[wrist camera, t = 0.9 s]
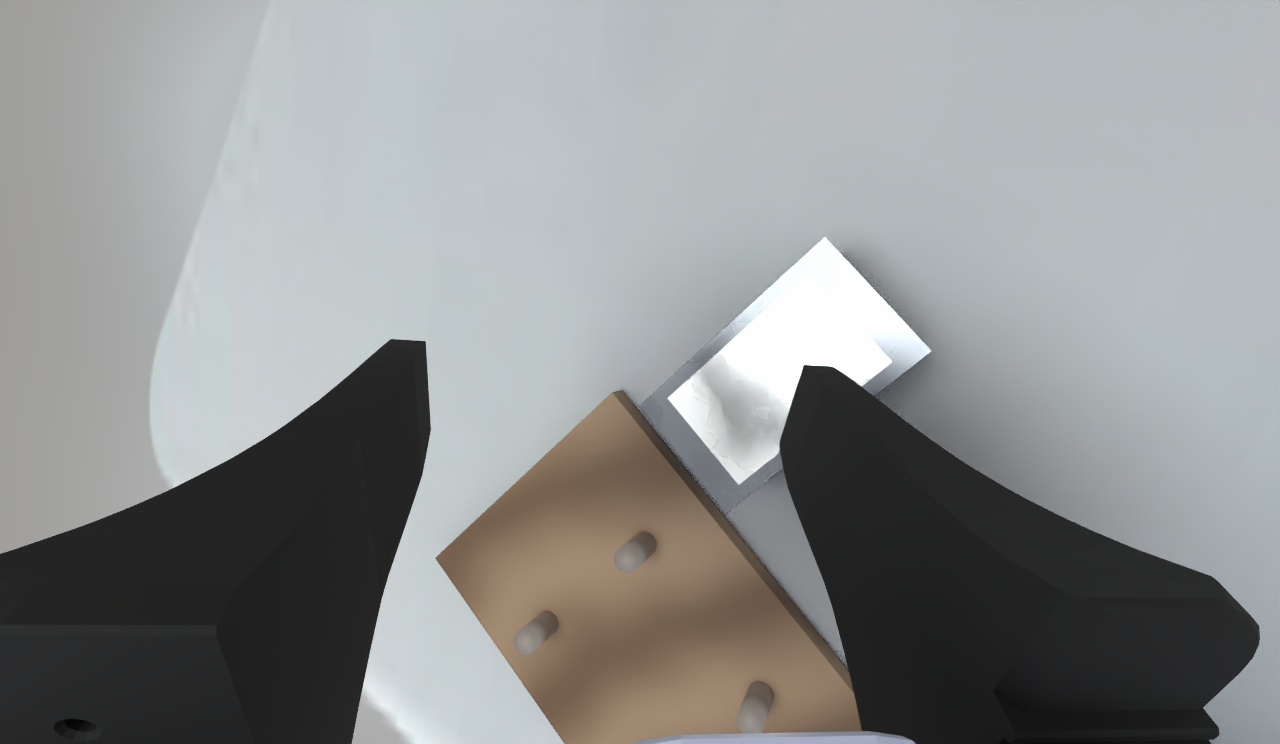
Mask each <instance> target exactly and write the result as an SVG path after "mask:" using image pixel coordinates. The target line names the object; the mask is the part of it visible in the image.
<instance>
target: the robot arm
mask: <svg viewBox="0 0 1280 744" xmlns="http://www.w3.org/2000/svg"><path fill="white" fill-rule="evenodd" d="M430 431H431V426H430V409H429V392H428V375H427V358H426V341H412V340H396V339H391V340H389V341H388V342H387V343H386V344H385V345H383V346H382V347H381V348H380V349H378V350H377V351H376V352H375V353H374V354H373V355H372V356H370V357H369V358H368V359H367V360H366V361H365V362H364V363H363V364H361V365H360V366H359V367H358V368H357V369H356V370H355V371H353V372H352V373H351V374H350V375H349V376H348V377H346V378H345V379H344V380H343V381H342V382H340V383H339V384H338V385H337V386H336V387H334V388H333V389H332V390H331V391H330V392H328V393H327V394H326V395H325V396H324V397H322V398H321V399H320V400H319V401H317V402H316V403H314V404H313V405H312V406H310V407H309V408H308V409H306V410H305V411H304V412H302V413H301V414H300V415H298V416H297V417H296V418H294V419H293V420H292V421H290V422H289V423H287V424H286V425H285V426H283V427H282V428H280V429H279V430H277V431H276V432H274V433H273V434H271V435H270V436H268V437H266V438H265V439H263V440H262V441H260V442H258V443H257V444H255V445H253V446H252V447H250V448H248V449H247V450H245V451H243V452H242V453H240V454H238V455H237V456H235V457H233V458H231V459H230V460H228V461H226V462H224V463H222V464H220V465H218V466H216V467H214V468H212V469H210V470H208V471H206V472H204V473H202V474H200V475H198V476H197V477H195V478H193V479H191V480H189V481H187V482H185V483H183V484H181V485H179V486H177V487H175V488H173V489H171V490H169V491H166V492H164V493H162V494H160V495H157V496H155V497H153V498H151V499H148V500H146V501H144V502H141V503H139V504H137V505H135V506H132V507H130V508H127V509H125V510H122V511H120V512H117V513H115V514H112V515H110V516H107V517H105V518H102V519H100V520H97V521H95V522H92V523H89V524H87V525H84V526H82V527H79V528H76V529H73V530H70V531H67V532H64V533H62V534H58V535H55V536H52V537H50V538H47V539H44V540H41V541H38V542H35V543H32V544H29V545H27V546H23V547H20V548H18V549H15V550H12V551H8V552H6V553H2V554H0V744H352V738H353V733H354V727H355V722H356V717H357V712H358V707H359V702H360V697H361V692H362V687H363V682H364V678H365V673H366V668H367V663H368V658H369V653H370V649H371V644H372V640H373V635H374V631H375V626H376V621H377V617H378V612H379V608H380V603H381V599H382V596H383V592H384V589H385V585H386V582H387V578H388V575H389V572H390V569H391V566H392V563H393V560H394V557H395V554H396V551H397V549H398V546H399V543H400V540H401V537H402V534H403V531H404V528H405V525H406V522H407V519H408V516H409V513H410V510H411V507H412V504H413V501H414V498H415V495H416V492H417V489H418V486H419V483H420V480H421V477H422V473H423V468H424V463H425V458H426V453H427V447H428V442H429V436H430ZM779 449H780V454H781V459H782V464H783V469H784V473H785V477H786V481H787V485H788V489H789V492H790V494H791V497H792V500H793V503H794V505H795V508H796V511H797V513H798V516H799V519H800V521H801V524H802V526H803V529H804V532H805V534H806V537H807V539H808V542H809V544H810V547H811V549H812V552H813V555H814V557H815V560H816V562H817V565H818V567H819V570H820V573H821V575H822V578H823V580H824V583H825V586H826V589H827V592H828V595H829V598H830V601H831V604H832V607H833V611H834V615H835V619H836V622H837V626H838V630H839V634H840V638H841V641H842V645H843V649H844V653H845V657H846V661H847V666H848V670H849V674H850V679H851V683H852V687H853V691H854V696H855V700H856V705H857V710H858V715H859V719H860V724H861V729H862V731H852V732H798V733H743V734H688V735H673V736H667V737H660V738H654V739H648V740H641V741H636V742H634V743H632V744H1211V743H1210V741H1209V740H1211V739H1215V738H1216V737H1217V736H1218V735H1219V728H1218V726H1217V725H1216V724H1215V723H1214V721H1213V720H1212V719H1211V718H1210V716H1209V715H1208V714H1207V713H1206V711H1205V710H1204V709H1203V707H1204V706H1205V705H1206V704H1207V703H1208V702H1209V701H1210V700H1211V699H1212V698H1214V697H1215V696H1216V695H1217V694H1218V693H1219V692H1220V691H1221V690H1222V689H1223V688H1224V687H1225V686H1226V685H1227V684H1228V683H1229V682H1230V681H1232V680H1233V679H1234V678H1235V677H1236V676H1237V675H1238V674H1239V673H1240V672H1241V671H1242V670H1243V669H1244V667H1245V666H1246V665H1247V664H1248V663H1249V662H1250V660H1251V659H1252V658H1253V656H1254V654H1255V652H1256V649H1257V647H1258V645H1259V640H1260V634H1259V625H1258V624H1257V623H1256V622H1255V620H1254V619H1253V618H1252V617H1251V615H1250V614H1249V613H1248V612H1247V611H1246V610H1245V609H1244V608H1243V607H1242V606H1241V605H1240V604H1239V603H1238V602H1237V601H1236V600H1235V599H1234V598H1233V597H1232V596H1231V595H1230V594H1229V593H1228V592H1227V590H1226V589H1225V588H1224V587H1223V586H1222V585H1221V584H1220V583H1219V582H1218V581H1217V580H1216V579H1214V578H1213V577H1212V576H1209V575H1206V574H1203V573H1201V572H1198V571H1195V570H1192V569H1189V568H1187V567H1184V566H1181V565H1178V564H1175V563H1173V562H1170V561H1167V560H1164V559H1162V558H1159V557H1156V556H1153V555H1150V554H1148V553H1145V552H1142V551H1139V550H1137V549H1134V548H1132V547H1129V546H1127V545H1125V544H1122V543H1120V542H1117V541H1115V540H1113V539H1110V538H1108V537H1106V536H1103V535H1101V534H1098V533H1096V532H1094V531H1091V530H1089V529H1087V528H1085V527H1082V526H1080V525H1078V524H1076V523H1074V522H1072V521H1069V520H1067V519H1065V518H1063V517H1061V516H1059V515H1057V514H1055V513H1053V512H1051V511H1049V510H1047V509H1045V508H1043V507H1041V506H1039V505H1037V504H1035V503H1033V502H1031V501H1029V500H1027V499H1025V498H1023V497H1022V496H1020V495H1018V494H1016V493H1014V492H1012V491H1011V490H1009V489H1007V488H1005V487H1003V486H1002V485H1000V484H998V483H997V482H995V481H993V480H992V479H990V478H988V477H987V476H985V475H983V474H982V473H980V472H978V471H977V470H975V469H973V468H972V467H970V466H969V465H967V464H965V463H964V462H962V461H961V460H959V459H958V458H956V457H955V456H953V455H952V454H950V453H949V452H948V451H946V450H945V449H943V448H942V447H940V446H939V445H937V444H936V443H935V442H933V441H932V440H930V439H929V438H928V437H926V436H925V435H923V434H922V433H921V432H919V431H918V430H917V429H915V428H914V427H913V426H911V425H910V424H909V423H907V422H906V421H905V420H903V419H902V418H901V417H900V416H898V415H897V414H896V413H894V412H893V411H892V410H891V409H889V408H888V407H887V406H885V405H884V404H883V403H882V402H880V401H879V400H878V399H877V398H875V397H874V396H873V395H871V394H870V393H869V392H868V391H866V390H865V389H864V388H863V387H861V386H860V385H859V384H857V383H856V382H855V381H853V380H852V379H851V378H849V377H848V376H847V375H845V374H844V373H842V372H841V371H840V370H838V369H836V368H835V367H833V366H819V365H803V368H802V371H801V374H800V378H799V381H798V384H797V387H796V390H795V394H794V397H793V400H792V403H791V407H790V410H789V413H788V416H787V419H786V423H785V426H784V429H783V432H782V436H781V439H780V442H779Z"/></svg>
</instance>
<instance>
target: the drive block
mask: <svg viewBox="0 0 1280 744" xmlns="http://www.w3.org/2000/svg"><path fill="white" fill-rule="evenodd" d="M930 352H931V350H930V348H929V347H928V346H927V345H926V344H925V343H924V342H923V341H922V340H921V339H920V338H919V336H918V335H917V334H916V333H915V332H914V331H913V330H912V329H911V328H910V327H909V326H908V325H907V324H906V323H905V321H904V320H903V319H902V318H901V317H900V316H899V315H898V314H897V313H896V312H895V311H894V310H893V309H892V308H891V306H890V305H889V304H888V303H887V302H886V301H885V300H884V299H883V298H882V297H881V296H880V295H879V294H878V293H877V292H876V290H875V289H874V288H873V287H872V286H871V285H870V284H869V283H868V282H867V281H866V280H865V279H864V278H863V277H862V275H861V274H860V273H859V272H858V271H857V270H856V269H855V268H854V267H853V266H852V265H851V264H850V263H849V262H848V260H847V259H846V258H845V257H844V256H843V255H842V254H841V253H840V252H839V251H838V250H837V249H836V248H835V247H834V246H833V245H832V244H831V243H830V241H829V240H828V239H827V238H826V237H824V238H823V239H822V240H821V241H820V242H819V243H818V244H816V245H815V246H814V247H813V248H812V249H811V250H810V251H809V252H808V253H807V254H805V255H804V256H803V257H802V258H801V259H800V260H799V261H798V262H797V263H796V264H795V265H793V266H792V267H791V268H790V269H789V270H788V271H787V272H786V273H785V274H784V275H782V276H781V277H780V278H779V279H778V280H777V281H776V282H775V283H774V284H773V285H771V286H770V287H769V288H768V289H767V290H766V291H765V292H764V293H763V294H762V295H761V296H759V297H758V298H757V299H756V300H755V301H754V302H753V303H752V304H751V305H750V306H748V307H747V308H746V309H745V310H744V311H743V312H742V313H741V314H740V315H739V316H738V317H736V318H735V319H734V320H733V321H732V322H731V323H730V324H729V325H728V326H727V327H725V328H724V329H723V330H722V331H721V332H720V333H719V334H718V335H717V336H716V337H714V338H713V339H712V340H711V341H710V342H709V343H708V344H707V345H706V346H705V347H704V348H702V349H701V350H700V351H699V352H698V353H697V354H696V355H695V356H694V357H693V358H691V359H690V360H689V361H688V362H687V363H686V364H685V365H684V366H683V367H682V368H680V369H679V370H678V371H677V372H676V373H675V374H674V375H673V376H672V377H671V378H670V379H668V380H667V381H666V382H665V383H664V384H663V385H662V386H661V387H660V388H659V389H657V390H656V391H655V392H654V393H653V394H652V395H651V396H650V397H649V398H648V399H647V400H645V401H644V402H643V403H642V404H641V405H640V406H639V407H640V408H641V410H642V411H643V412H644V413H645V415H646V416H647V417H648V418H649V420H650V421H651V422H652V423H653V425H654V426H655V427H656V428H657V429H658V431H659V432H660V433H661V434H662V436H663V437H664V438H665V439H666V441H667V442H668V443H669V444H670V446H671V447H672V448H673V449H674V450H675V452H676V453H677V454H678V455H679V457H680V458H681V459H682V460H683V462H684V463H685V464H686V465H687V466H688V468H689V469H690V470H691V471H692V473H693V474H694V475H695V476H696V478H697V479H698V480H699V481H700V483H701V484H702V485H703V486H704V487H705V489H706V490H707V491H708V492H709V494H710V495H711V496H712V497H713V499H714V500H715V501H716V502H717V504H718V505H719V506H720V507H721V508H722V510H723V511H724V512H725V513H727V512H728V511H730V510H731V509H732V508H733V507H735V506H736V505H737V504H739V503H740V502H741V501H742V500H744V499H745V498H746V497H747V496H749V495H750V494H751V493H752V492H754V491H755V490H756V489H757V488H759V487H760V486H761V485H763V484H764V483H765V482H766V481H768V480H769V479H770V478H771V477H773V476H774V475H775V474H776V473H778V472H779V471H780V470H782V469H783V464H782V459H781V454H780V449H779V442H780V439H781V436H782V432H783V429H784V426H785V423H786V419H787V416H788V413H789V410H790V407H791V403H792V400H793V397H794V394H795V390H796V387H797V384H798V381H799V378H800V374H801V371H802V368H803V365H819V366H833V367H835V368H836V369H838V370H840V371H841V372H842V373H844V374H845V375H847V376H848V377H849V378H851V379H852V380H853V381H855V382H856V383H857V384H859V385H860V386H861V387H863V388H864V389H865V390H866V391H868V392H869V393H870V394H871V395H873V396H875V395H877V394H878V393H879V392H880V391H882V390H883V389H884V388H885V387H887V386H888V385H889V384H890V383H892V382H893V381H894V380H895V379H897V378H898V377H899V376H901V375H902V374H903V373H904V372H906V371H907V370H908V369H909V368H911V367H912V366H913V365H914V364H916V363H917V362H918V361H920V360H921V359H922V358H923V357H925V356H926V355H927V354H928V353H930Z"/></svg>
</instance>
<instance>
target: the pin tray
mask: <svg viewBox="0 0 1280 744" xmlns="http://www.w3.org/2000/svg"><path fill="white" fill-rule="evenodd" d="M436 560H437V561H438V563H439V564H440V566H441V567H442V568H443V570H444V571H445V573H446V574H447V576H448V577H449V578H450V580H451V581H452V583H453V584H454V586H455V587H456V589H457V590H458V591H459V593H460V594H461V596H462V597H463V599H464V600H465V601H466V603H467V604H468V606H469V607H470V609H471V610H472V611H473V613H474V614H475V616H476V617H477V619H478V620H479V622H480V623H481V624H482V626H483V627H484V629H485V630H486V632H487V633H488V634H489V636H490V637H491V639H492V640H493V642H494V643H495V644H496V646H497V647H498V649H499V650H500V652H501V653H502V655H503V656H504V657H505V659H506V660H507V662H508V663H509V665H510V666H511V667H512V669H513V670H514V672H515V673H516V675H517V676H518V677H519V679H520V680H521V682H522V683H523V685H524V686H525V688H526V689H527V690H528V692H529V693H530V695H531V696H532V698H533V699H534V700H535V702H536V703H537V705H538V706H539V708H540V709H541V710H542V712H543V713H544V715H545V716H546V718H547V719H548V721H549V722H550V723H551V725H552V726H553V728H554V729H555V731H556V732H557V733H558V735H559V736H560V738H561V739H562V741H563V742H564V743H565V744H632V743H634V742H636V741H641V740H648V739H654V738H660V737H667V736H673V735H688V734H743V733H798V732H852V731H862V729H861V724H860V719H859V715H858V710H857V705H856V700H855V696H854V691H853V687H852V683H851V679H850V674H849V671H848V670H847V668H846V667H845V666H844V665H843V664H842V662H841V661H840V660H839V659H838V657H837V656H836V655H835V654H834V652H833V651H832V650H831V649H830V647H829V646H828V645H827V644H826V642H825V641H824V640H823V639H822V637H821V636H820V635H819V634H818V633H817V631H816V630H815V629H814V628H813V626H812V625H811V624H810V623H809V621H808V620H807V619H806V618H805V616H804V615H803V614H802V613H801V611H800V610H799V609H798V608H797V606H796V605H795V604H794V603H793V602H792V600H791V599H790V598H789V597H788V595H787V594H786V593H785V592H784V590H783V589H782V588H781V587H780V585H779V584H778V583H777V582H776V580H775V579H774V578H773V577H772V575H771V574H770V573H769V572H768V571H767V569H766V568H765V567H764V566H763V564H762V563H761V562H760V561H759V559H758V558H757V557H756V556H755V554H754V553H753V552H752V551H751V549H750V548H749V547H748V546H747V544H746V543H745V542H744V541H743V540H742V538H741V537H740V536H739V535H738V533H737V532H736V531H735V530H734V528H733V527H732V526H731V525H730V523H729V522H728V521H727V520H726V518H725V517H724V516H723V515H722V513H721V512H720V511H719V510H718V508H717V507H716V506H715V505H714V504H713V502H712V501H711V500H710V499H709V497H708V496H707V495H706V494H705V492H704V491H703V490H702V489H701V487H700V486H699V485H698V484H697V482H696V481H695V480H694V479H693V477H692V476H691V475H690V474H689V473H688V471H687V470H686V469H685V468H684V466H683V465H682V464H681V463H680V461H679V460H678V459H677V458H676V456H675V455H674V454H673V453H672V451H671V450H670V449H669V448H668V446H667V445H666V444H665V443H664V442H663V440H662V439H661V438H660V437H659V435H658V434H657V433H656V432H655V430H654V429H653V428H652V427H651V425H650V424H649V423H648V422H647V420H646V419H645V418H644V417H643V415H642V414H641V413H640V412H639V411H638V409H637V408H636V407H635V406H634V404H633V403H632V402H631V401H630V399H629V398H628V397H627V396H626V394H625V393H624V392H623V391H622V390H620V391H616V392H613V393H611V394H610V395H609V396H608V397H607V398H606V399H605V400H604V401H603V402H602V403H601V404H600V405H598V406H597V407H596V408H595V409H594V410H593V411H592V412H591V413H590V414H589V415H588V416H587V417H586V418H585V419H584V420H582V421H581V422H580V423H579V424H578V425H577V426H576V427H575V428H574V429H573V430H572V431H571V432H570V433H569V434H567V435H566V436H565V437H564V438H563V439H562V440H561V441H560V442H559V443H558V444H557V445H556V446H555V447H554V448H553V449H551V450H550V451H549V452H548V453H547V454H546V455H545V456H544V457H543V458H542V459H541V460H540V461H539V462H538V463H536V464H535V465H534V466H533V467H532V468H531V469H530V470H529V471H528V472H527V473H526V474H525V475H524V476H523V477H522V478H520V479H519V480H518V481H517V482H516V483H515V484H514V485H513V486H512V487H511V488H510V489H509V490H508V491H507V492H505V493H504V494H503V495H502V496H501V497H500V498H499V499H498V500H497V501H496V502H495V503H494V504H493V505H492V506H491V507H489V508H488V509H487V510H486V511H485V512H484V513H483V514H482V515H481V516H480V517H479V518H478V519H477V520H476V521H474V522H473V523H472V524H471V525H470V526H469V527H468V528H467V529H466V530H465V531H464V532H463V533H462V534H461V535H460V536H458V537H457V538H456V539H455V540H454V541H453V542H452V543H451V544H450V545H449V546H448V547H447V548H446V549H445V550H443V551H442V552H441V553H440V554H439V555H438V556H437V557H436Z"/></svg>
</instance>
